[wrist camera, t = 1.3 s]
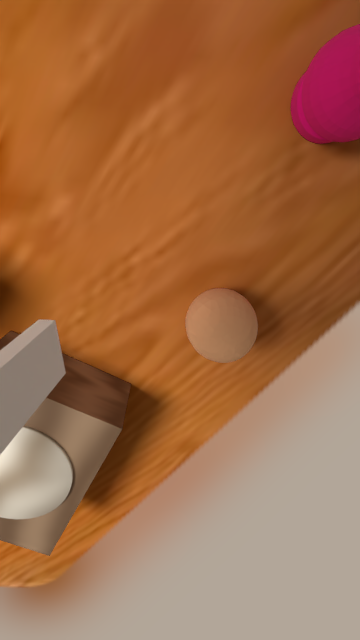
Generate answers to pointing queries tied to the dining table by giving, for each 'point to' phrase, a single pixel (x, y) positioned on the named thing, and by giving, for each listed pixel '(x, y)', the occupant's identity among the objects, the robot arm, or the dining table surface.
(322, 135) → the pepper mill
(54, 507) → the walnut riser
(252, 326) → the egg
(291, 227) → the dining table surface
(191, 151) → the dining table surface
